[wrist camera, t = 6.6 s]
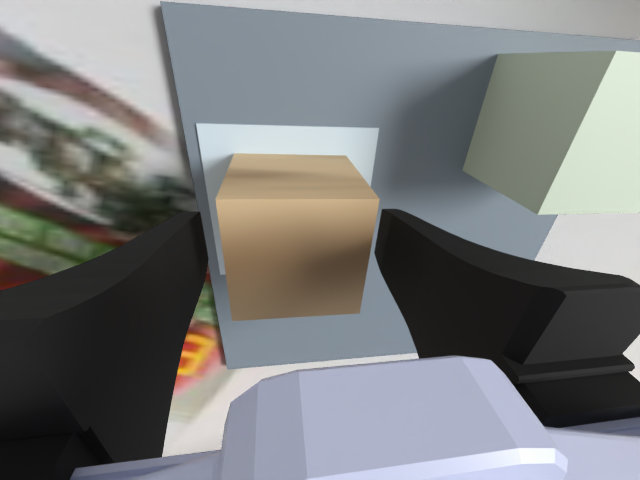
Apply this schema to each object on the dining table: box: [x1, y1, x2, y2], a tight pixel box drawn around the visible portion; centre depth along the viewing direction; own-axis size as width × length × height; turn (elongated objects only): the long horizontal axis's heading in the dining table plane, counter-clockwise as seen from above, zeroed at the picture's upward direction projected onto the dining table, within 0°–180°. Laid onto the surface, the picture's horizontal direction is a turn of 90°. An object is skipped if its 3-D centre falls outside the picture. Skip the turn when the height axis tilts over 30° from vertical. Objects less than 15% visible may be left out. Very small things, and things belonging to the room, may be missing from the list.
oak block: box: [215, 153, 380, 321], centre depth 11 cm, size 4×4×4 cm
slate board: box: [160, 1, 640, 369], centre depth 15 cm, size 18×18×1 cm
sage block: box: [462, 51, 640, 215], centre depth 11 cm, size 4×4×4 cm
